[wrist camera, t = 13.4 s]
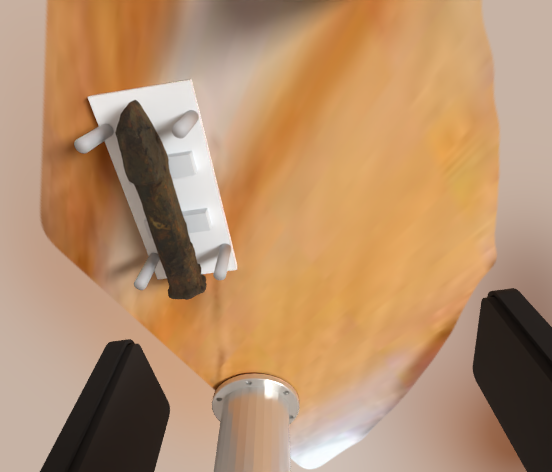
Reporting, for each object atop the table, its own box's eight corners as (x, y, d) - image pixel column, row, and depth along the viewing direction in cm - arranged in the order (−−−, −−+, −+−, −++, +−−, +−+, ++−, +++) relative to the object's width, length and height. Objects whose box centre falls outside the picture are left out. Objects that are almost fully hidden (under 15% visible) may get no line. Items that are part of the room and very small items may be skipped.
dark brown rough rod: (210, 277, 41) (203, 305, 36) (174, 280, 41) (163, 308, 37) (170, 95, 31) (154, 106, 27) (123, 100, 31) (101, 111, 27)
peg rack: (237, 265, 42) (232, 298, 37) (159, 275, 43) (144, 308, 38) (191, 79, 32) (176, 89, 27) (91, 95, 33) (58, 108, 28)
